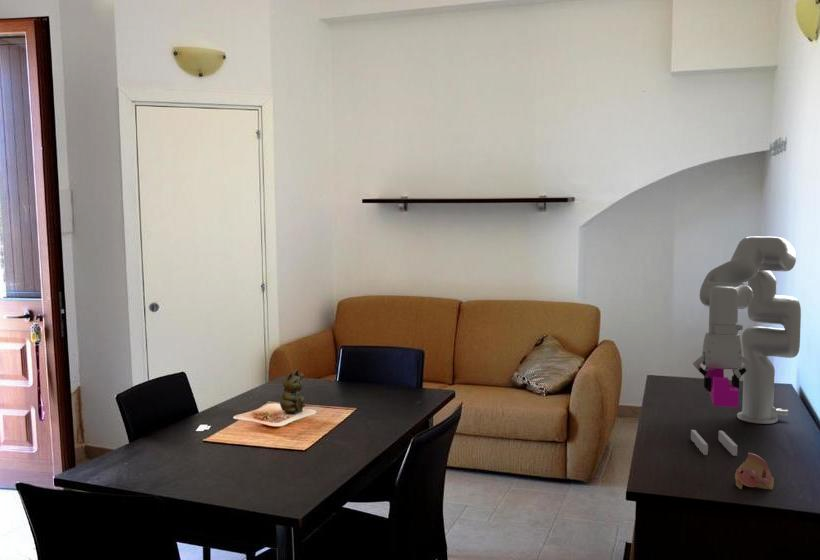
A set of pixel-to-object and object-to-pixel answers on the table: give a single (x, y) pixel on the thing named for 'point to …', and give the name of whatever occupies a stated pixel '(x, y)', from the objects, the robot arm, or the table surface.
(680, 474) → the table surface
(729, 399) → the toy block
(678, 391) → the table surface
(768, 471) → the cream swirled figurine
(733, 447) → the guide channel
